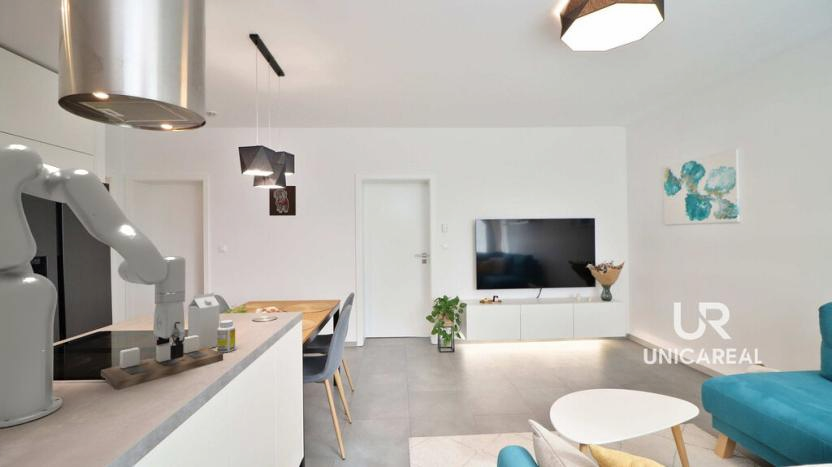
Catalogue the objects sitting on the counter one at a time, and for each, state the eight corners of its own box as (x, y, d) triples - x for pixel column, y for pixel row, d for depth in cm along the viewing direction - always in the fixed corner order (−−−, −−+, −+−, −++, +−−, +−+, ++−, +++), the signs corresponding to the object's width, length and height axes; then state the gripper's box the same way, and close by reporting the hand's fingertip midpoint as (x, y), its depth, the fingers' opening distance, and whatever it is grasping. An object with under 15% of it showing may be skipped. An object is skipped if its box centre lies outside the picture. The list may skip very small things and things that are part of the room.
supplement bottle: (233, 346, 128) (233, 318, 128) (236, 350, 124) (236, 321, 124) (216, 349, 125) (216, 320, 125) (218, 354, 120) (218, 323, 120)
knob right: (185, 353, 113) (185, 339, 113) (182, 351, 115) (182, 337, 115) (198, 350, 117) (198, 336, 117) (195, 348, 118) (195, 335, 118)
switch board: (117, 389, 92) (117, 381, 92) (100, 376, 100) (101, 369, 101) (223, 360, 114) (223, 353, 114) (202, 351, 123) (202, 345, 123)
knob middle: (159, 362, 105) (159, 346, 105) (156, 360, 107) (156, 345, 107) (174, 358, 109) (174, 343, 109) (171, 356, 110) (171, 342, 110)
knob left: (122, 368, 100) (122, 352, 100) (119, 366, 102) (119, 350, 102) (139, 364, 104) (139, 348, 104) (136, 362, 105) (136, 347, 105)
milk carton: (187, 348, 126) (188, 295, 126) (207, 343, 132) (207, 292, 132) (199, 351, 123) (200, 296, 123) (219, 346, 129) (219, 293, 129)
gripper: (144, 296, 108) (143, 352, 108) (168, 302, 98) (167, 364, 98) (172, 293, 114) (171, 346, 114) (197, 298, 104) (196, 357, 104)
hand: (169, 355), depth 106 cm, fingers open, 9 cm apart
